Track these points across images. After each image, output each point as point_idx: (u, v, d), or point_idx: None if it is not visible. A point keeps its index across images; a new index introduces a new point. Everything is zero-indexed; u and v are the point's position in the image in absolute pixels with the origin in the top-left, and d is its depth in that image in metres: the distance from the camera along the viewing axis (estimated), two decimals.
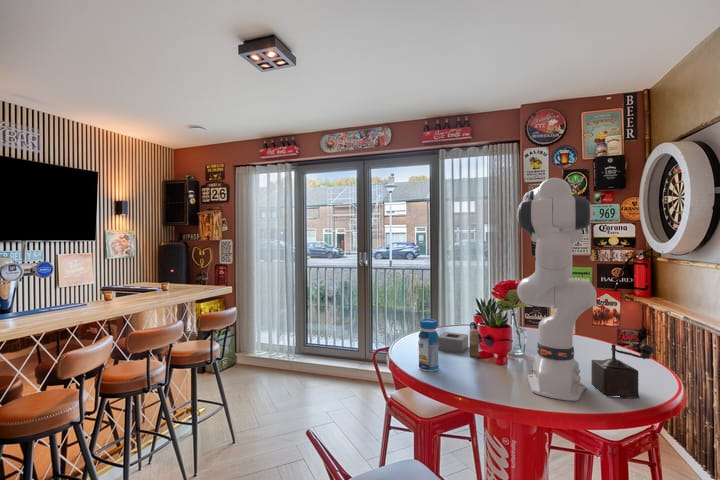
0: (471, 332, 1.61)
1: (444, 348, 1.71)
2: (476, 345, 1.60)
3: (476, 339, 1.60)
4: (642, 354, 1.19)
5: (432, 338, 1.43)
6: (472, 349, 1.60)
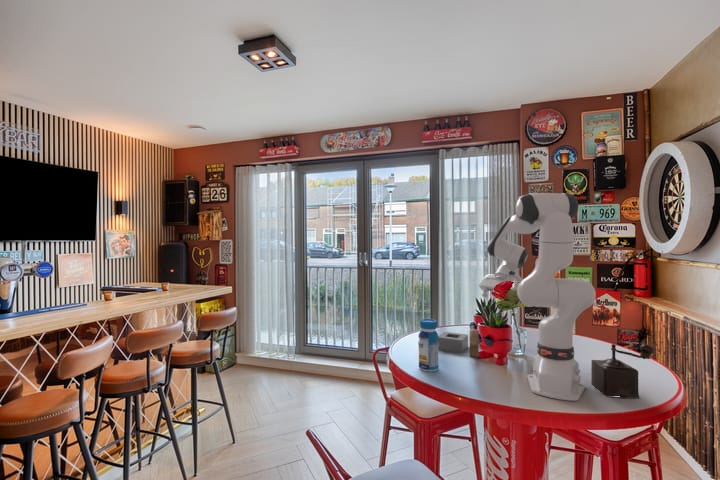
0: (471, 332, 1.61)
1: (444, 348, 1.71)
2: (476, 345, 1.60)
3: (476, 339, 1.60)
4: (642, 354, 1.19)
5: (432, 338, 1.43)
6: (472, 349, 1.60)
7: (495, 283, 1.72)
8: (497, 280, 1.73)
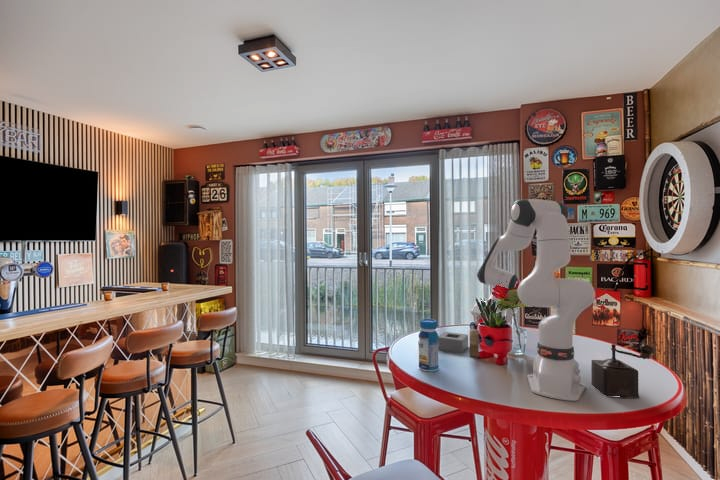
0: (471, 332, 1.61)
1: (444, 348, 1.71)
2: (476, 345, 1.60)
3: (476, 339, 1.60)
4: (642, 354, 1.19)
5: (432, 338, 1.43)
6: (472, 349, 1.60)
7: None
8: None
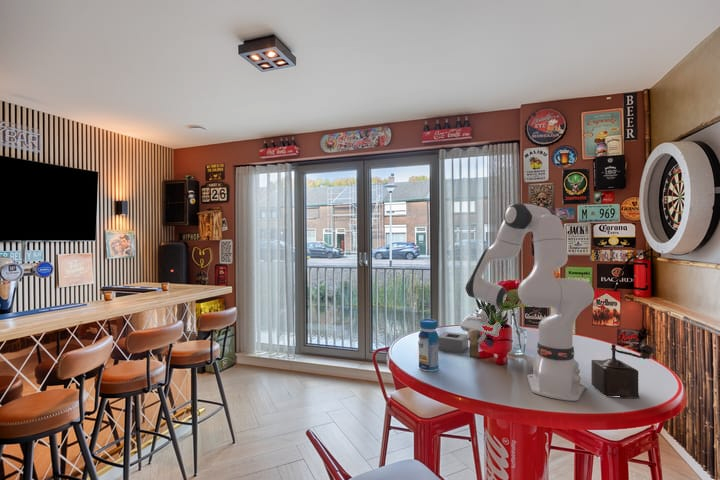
0: (471, 332, 1.61)
1: (444, 348, 1.71)
2: (476, 345, 1.60)
3: (476, 339, 1.60)
4: (642, 354, 1.19)
5: (432, 338, 1.43)
6: (472, 349, 1.60)
7: (477, 325, 1.64)
8: (479, 322, 1.65)
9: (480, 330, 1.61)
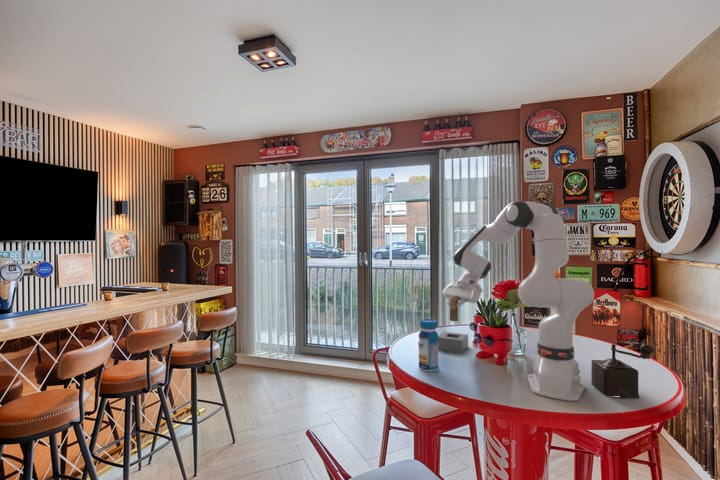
0: (451, 297, 1.73)
1: (444, 348, 1.71)
2: (455, 309, 1.73)
3: None
4: (642, 354, 1.19)
5: (432, 338, 1.43)
6: (452, 313, 1.73)
7: (456, 291, 1.77)
8: (459, 289, 1.78)
9: (459, 296, 1.74)
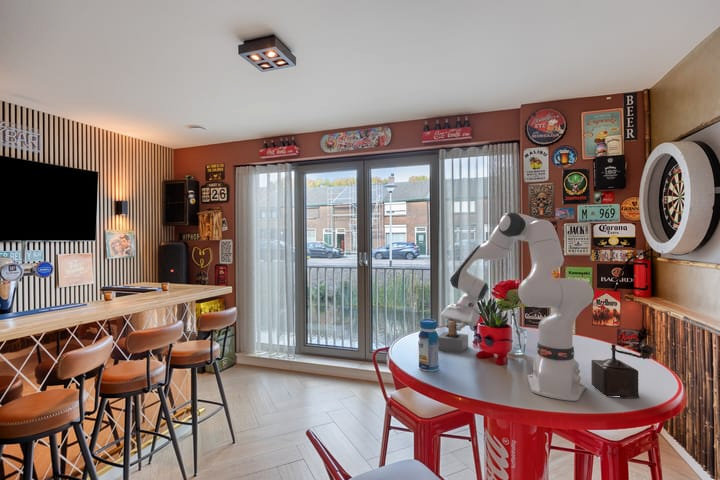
0: (449, 323, 1.74)
1: (444, 348, 1.71)
2: (454, 335, 1.73)
3: (454, 329, 1.73)
4: (642, 354, 1.19)
5: (432, 338, 1.43)
6: None
7: (455, 314, 1.77)
8: (458, 311, 1.78)
9: (458, 318, 1.74)
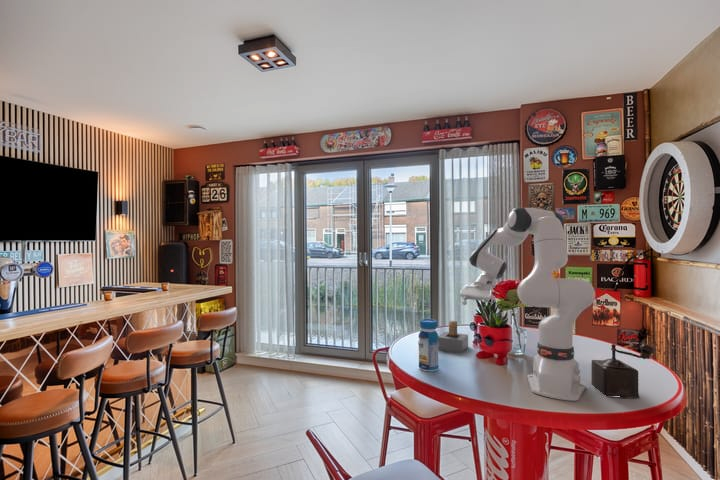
0: (450, 323, 1.74)
1: (444, 348, 1.71)
2: (454, 335, 1.73)
3: (455, 330, 1.73)
4: (642, 354, 1.19)
5: (432, 338, 1.43)
6: None
7: (474, 292, 1.83)
8: (476, 289, 1.85)
9: (477, 295, 1.80)
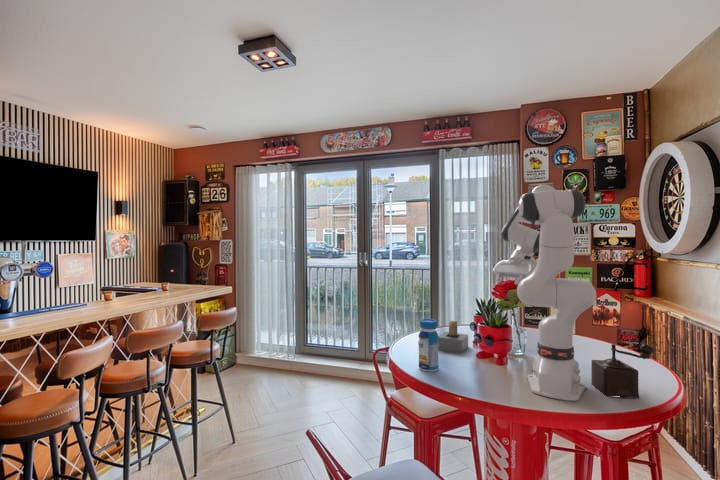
0: (450, 323, 1.74)
1: (444, 348, 1.71)
2: (454, 335, 1.73)
3: (455, 330, 1.73)
4: (642, 354, 1.19)
5: (432, 338, 1.43)
6: None
7: (510, 268, 1.68)
8: (512, 265, 1.69)
9: (514, 272, 1.65)
